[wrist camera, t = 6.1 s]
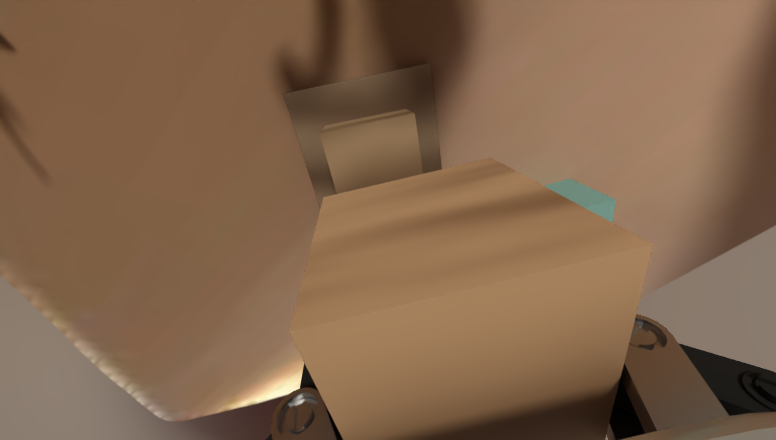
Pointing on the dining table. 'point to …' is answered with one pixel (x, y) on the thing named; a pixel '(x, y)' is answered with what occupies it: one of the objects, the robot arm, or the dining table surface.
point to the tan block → (467, 309)
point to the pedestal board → (362, 105)
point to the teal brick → (585, 197)
